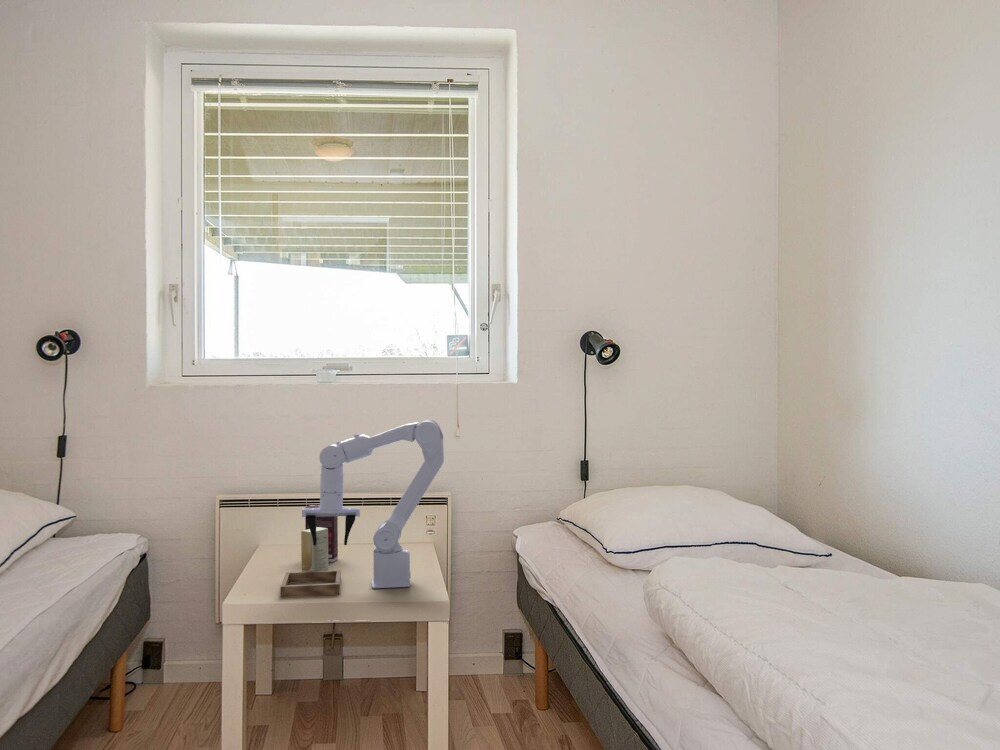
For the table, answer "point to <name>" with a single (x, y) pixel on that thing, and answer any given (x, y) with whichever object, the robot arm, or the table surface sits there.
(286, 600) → the table surface
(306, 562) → the skincare box
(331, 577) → the walnut box
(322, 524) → the supplement box
